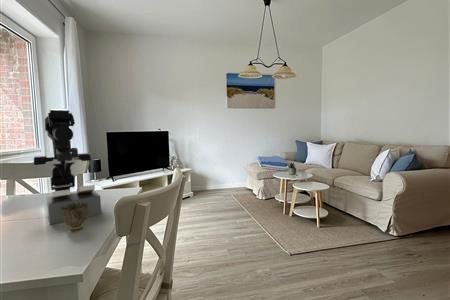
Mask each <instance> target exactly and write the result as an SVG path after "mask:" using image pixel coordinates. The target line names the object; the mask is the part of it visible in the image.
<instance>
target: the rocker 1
mask: <svg viewBox="0 0 450 300" xmlns="http://www.w3.org/2000/svg"><path fill="white" fill-rule="evenodd" d="M69 194H71V189H70V190H61V191H55V190H53V191H51V196H52V197H60V196H67V195H69Z"/></svg>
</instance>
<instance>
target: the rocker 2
mask: <svg viewBox="0 0 450 300" xmlns="http://www.w3.org/2000/svg"><path fill="white" fill-rule="evenodd" d="M93 190H94V191H95V190H96V187H95V184H91V185H90V184H89V185H83V186H82V185H81V186H79V187H77V189H76V193H77V194H80V193H86V192H93Z"/></svg>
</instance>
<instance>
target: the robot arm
mask: <svg viewBox="0 0 450 300" xmlns="http://www.w3.org/2000/svg"><path fill="white" fill-rule="evenodd" d="M75 123H76V122H75V118H74V115H73V113H72V112H70V110H69V109H54V108H52V109H49V111H48V112H47V116H46V117H45V118H44V130H45V132H46V133H47V136H48V137H49V139H50V140H51V142H52V151H53V156H52V157H51V156H50V157H48V156H47V155H38V156H37V155H35V156H34V157H33V165H34V166H37V165H38V166H40V165H45V164H46V163H51V165H52V166H54V167H53V169H52V171H51V175H50V190H51V191H61V190H70V191H71V188H74V187H76V184H75V183H76V177H75V176H74V174H73V173H72V169H71V167H72V166H73V165H75V164H76V162H75V161H79V160H80V161H81V162H86V161H88V162H89V161H92V159H91V157H92V156H91V154H90V153H88V152H84V153H82V152H81V153H79V150H78V147H72V145H71V142H72V141H71V140H72V139H73V138H74V132H73V130H72V129H71V128H70V127H74V125H75Z"/></svg>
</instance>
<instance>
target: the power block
mask: <svg viewBox="0 0 450 300" xmlns="http://www.w3.org/2000/svg"><path fill="white" fill-rule="evenodd" d="M79 202H80V205H81V203H82V202H83V203H85V202H86V204H87V203H88V216H87V218H88V217H92V216H97V215H101V214H102V203H101V195H100V194H99V193H98V192H97V191H96V190H95V189H94V190H93V192H86V193H80V194H77V192H70V194H69V195H67V196H60V197H52V195H51V196H46V208H47V218H48V222H49V225H54V224H59V223H65V222H64V219H63V215H62V210H61V207H62V206H64V208H65V207H67V204H70V205H71V204H72V203H76V204H78V203H79Z"/></svg>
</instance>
